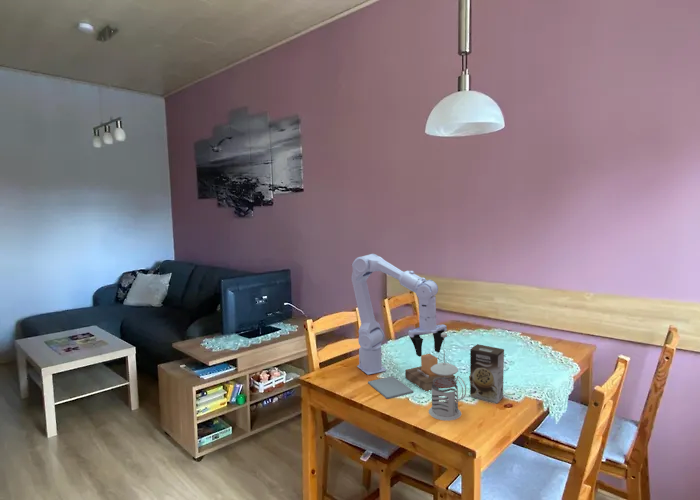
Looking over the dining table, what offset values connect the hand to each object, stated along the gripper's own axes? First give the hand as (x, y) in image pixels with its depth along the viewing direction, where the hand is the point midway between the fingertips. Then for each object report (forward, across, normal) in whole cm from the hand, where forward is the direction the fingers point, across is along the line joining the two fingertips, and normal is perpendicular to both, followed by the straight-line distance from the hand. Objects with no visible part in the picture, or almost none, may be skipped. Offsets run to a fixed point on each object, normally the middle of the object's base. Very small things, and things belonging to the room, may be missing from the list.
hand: (428, 353), depth 154 cm
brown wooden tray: (+10, +1, +1) cm, 10 cm away
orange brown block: (+10, +1, +1) cm, 10 cm away
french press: (+11, -8, -21) cm, 25 cm away
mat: (+10, -14, +2) cm, 18 cm away
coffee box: (+11, +10, -18) cm, 23 cm away
